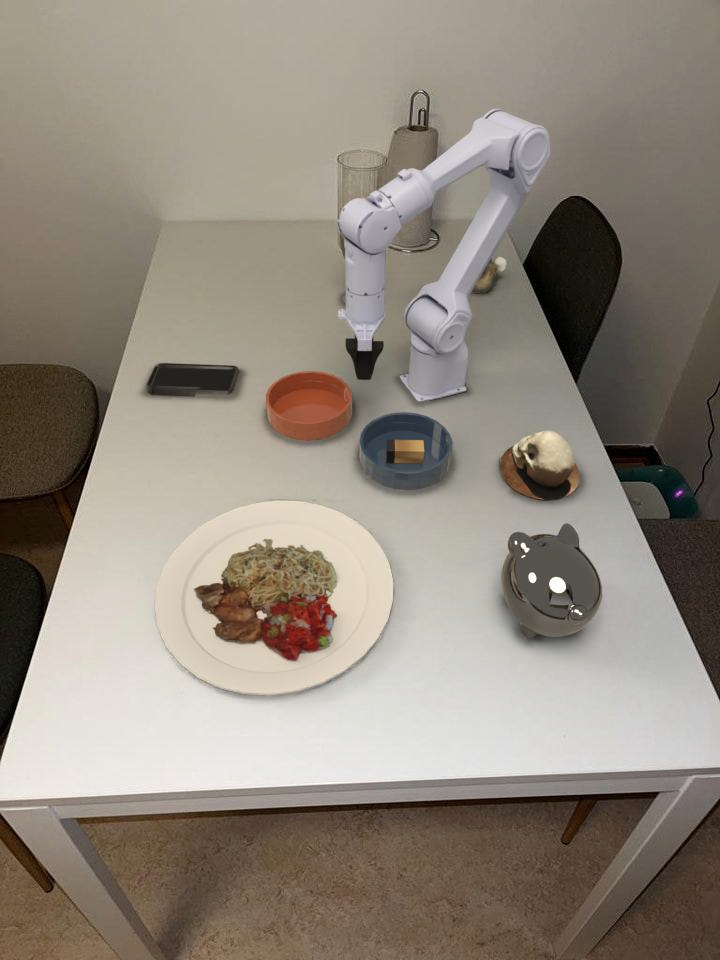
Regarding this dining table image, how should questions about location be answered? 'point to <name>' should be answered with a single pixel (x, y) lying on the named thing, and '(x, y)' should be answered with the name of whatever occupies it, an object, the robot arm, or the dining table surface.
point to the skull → (541, 466)
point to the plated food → (274, 597)
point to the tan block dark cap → (405, 451)
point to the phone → (192, 379)
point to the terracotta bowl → (309, 405)
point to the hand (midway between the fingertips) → (364, 364)
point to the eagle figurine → (489, 275)
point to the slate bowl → (405, 429)
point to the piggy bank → (550, 583)
